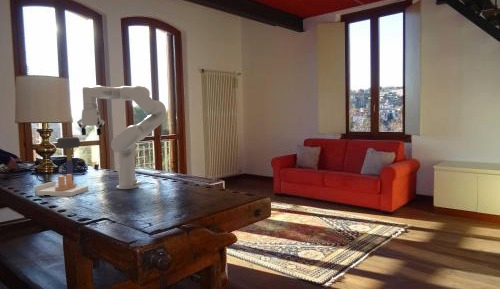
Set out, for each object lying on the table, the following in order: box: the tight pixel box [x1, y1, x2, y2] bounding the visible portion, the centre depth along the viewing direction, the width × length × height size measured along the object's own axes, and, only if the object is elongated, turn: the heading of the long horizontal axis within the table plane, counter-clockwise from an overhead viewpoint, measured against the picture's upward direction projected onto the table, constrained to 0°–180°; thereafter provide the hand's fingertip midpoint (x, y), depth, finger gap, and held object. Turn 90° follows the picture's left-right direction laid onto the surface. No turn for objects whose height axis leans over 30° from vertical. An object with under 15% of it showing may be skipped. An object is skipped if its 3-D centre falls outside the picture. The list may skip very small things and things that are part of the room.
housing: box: [34, 174, 89, 197], centre depth 209 cm, size 22×16×10 cm
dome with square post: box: [55, 175, 69, 191], centre depth 205 cm, size 7×7×10 cm
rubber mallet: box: [56, 136, 81, 182], centre depth 241 cm, size 12×8×30 cm, turn 140°
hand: (91, 135), depth 224 cm, fingers open, 9 cm apart
